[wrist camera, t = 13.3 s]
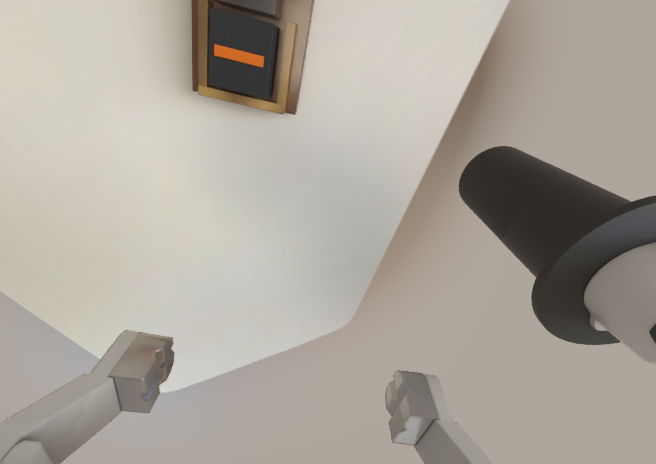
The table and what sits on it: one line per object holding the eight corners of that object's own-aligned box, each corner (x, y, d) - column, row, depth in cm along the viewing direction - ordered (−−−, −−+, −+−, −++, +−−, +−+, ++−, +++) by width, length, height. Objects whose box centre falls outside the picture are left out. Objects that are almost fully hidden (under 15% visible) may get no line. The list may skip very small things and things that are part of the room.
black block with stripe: (279, 27, 25) (273, 23, 23) (272, 95, 28) (265, 99, 25) (221, 12, 25) (208, 6, 22) (219, 82, 28) (207, 85, 25)
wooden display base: (322, -56, 23) (321, -76, 20) (296, 113, 30) (291, 120, 26) (195, -94, 22) (171, -122, 19) (196, 89, 29) (178, 93, 25)
